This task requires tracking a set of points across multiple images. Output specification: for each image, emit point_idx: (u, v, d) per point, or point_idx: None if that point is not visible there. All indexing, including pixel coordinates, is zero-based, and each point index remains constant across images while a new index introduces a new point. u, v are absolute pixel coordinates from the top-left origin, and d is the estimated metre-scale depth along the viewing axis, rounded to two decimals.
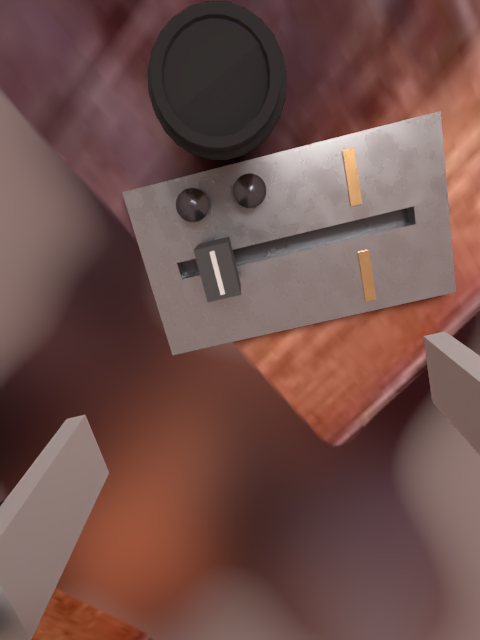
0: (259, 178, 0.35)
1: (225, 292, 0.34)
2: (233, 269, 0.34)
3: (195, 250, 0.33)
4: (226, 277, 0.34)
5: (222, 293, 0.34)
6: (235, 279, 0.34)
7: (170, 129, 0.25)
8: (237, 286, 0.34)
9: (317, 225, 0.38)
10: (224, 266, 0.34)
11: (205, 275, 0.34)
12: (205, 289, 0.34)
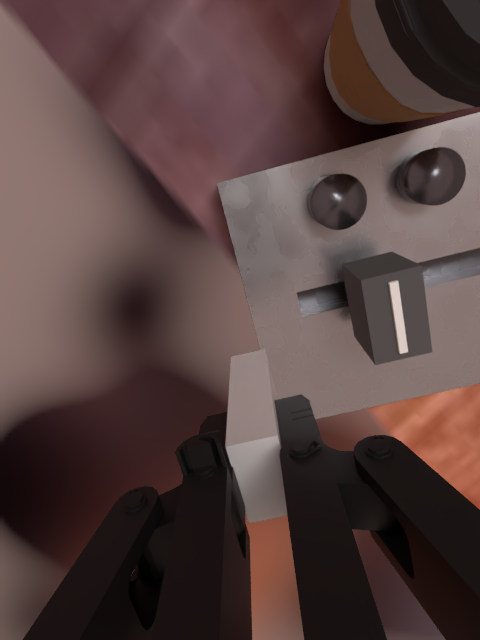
0: (456, 155, 0.21)
1: (406, 349, 0.20)
2: (425, 311, 0.20)
3: (363, 280, 0.19)
4: (412, 323, 0.20)
5: (403, 351, 0.20)
6: (426, 327, 0.20)
7: (427, 32, 0.11)
8: (428, 338, 0.20)
9: None
10: (411, 306, 0.20)
11: (376, 321, 0.20)
12: (374, 344, 0.20)
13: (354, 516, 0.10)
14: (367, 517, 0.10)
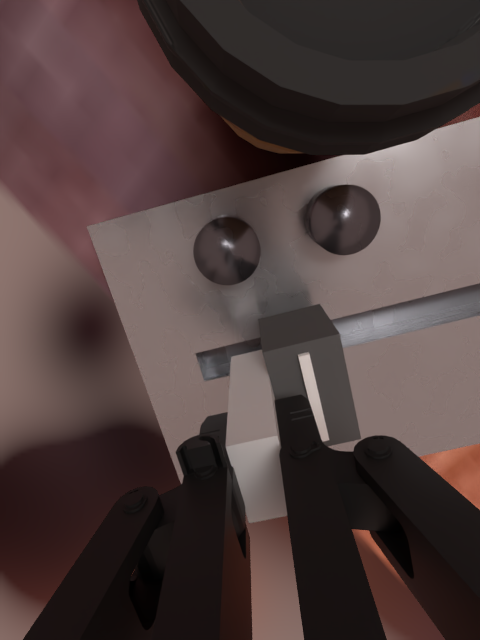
0: (367, 194, 0.17)
1: (328, 436, 0.16)
2: (348, 389, 0.15)
3: (266, 352, 0.15)
4: (333, 405, 0.16)
5: (323, 439, 0.16)
6: (351, 409, 0.16)
7: (193, 48, 0.07)
8: (355, 423, 0.16)
9: (464, 279, 0.20)
10: (330, 384, 0.15)
11: None
12: None
13: (354, 516, 0.10)
14: (366, 516, 0.10)
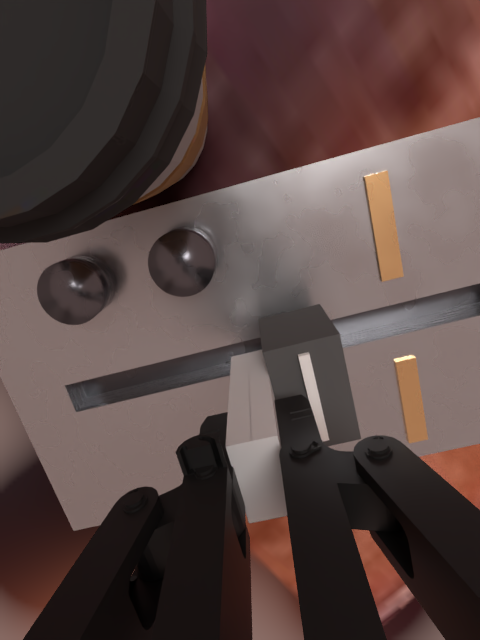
0: (199, 240, 0.17)
1: (328, 435, 0.16)
2: (348, 389, 0.15)
3: (266, 352, 0.15)
4: (333, 405, 0.16)
5: (323, 439, 0.16)
6: (351, 409, 0.16)
7: None
8: (355, 423, 0.16)
9: None
10: (330, 384, 0.15)
11: None
12: None
13: (354, 516, 0.10)
14: (366, 516, 0.10)
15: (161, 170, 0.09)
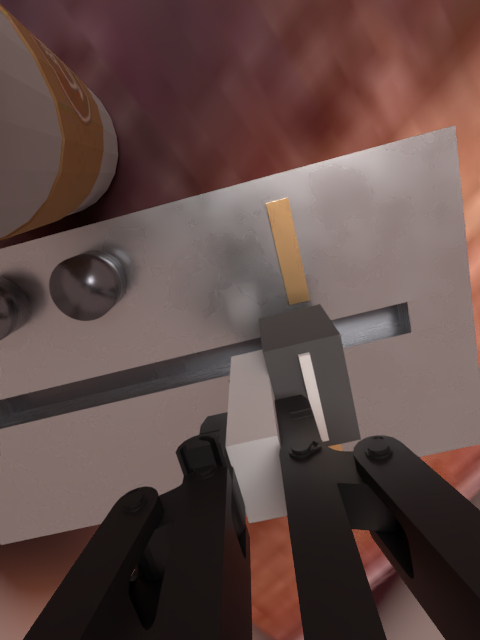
0: (97, 266, 0.18)
1: (327, 436, 0.16)
2: (348, 390, 0.15)
3: (266, 352, 0.15)
4: (333, 405, 0.16)
5: (323, 439, 0.16)
6: (351, 409, 0.16)
7: None
8: (355, 423, 0.16)
9: (229, 337, 0.21)
10: (330, 384, 0.15)
11: None
12: None
13: (354, 516, 0.10)
14: (366, 517, 0.10)
15: None
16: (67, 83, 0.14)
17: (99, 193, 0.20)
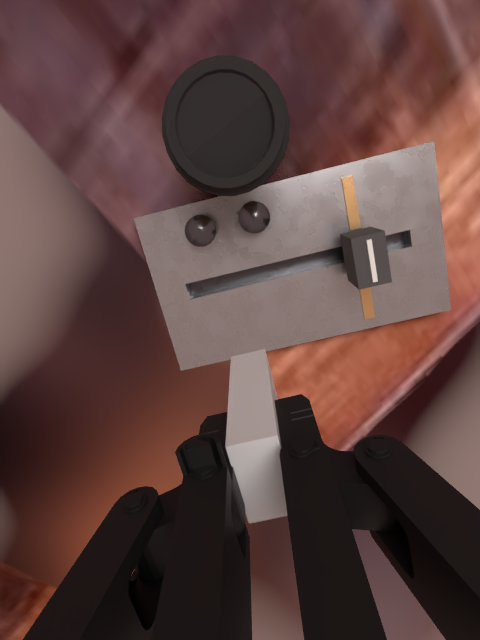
0: (263, 205, 0.37)
1: (377, 280, 0.35)
2: (387, 257, 0.35)
3: (352, 239, 0.34)
4: (380, 264, 0.35)
5: (375, 280, 0.35)
6: (388, 267, 0.35)
7: (182, 170, 0.27)
8: (389, 274, 0.35)
9: (318, 247, 0.40)
10: (379, 254, 0.35)
11: (360, 263, 0.35)
12: (358, 277, 0.35)
13: (354, 516, 0.10)
14: (367, 517, 0.10)
15: (272, 174, 0.28)
16: None
17: None
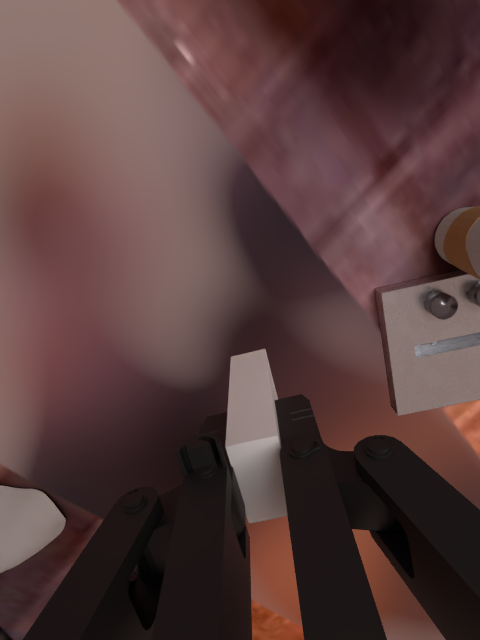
0: None
1: None
2: None
3: None
4: None
5: None
6: None
7: None
8: None
9: None
10: None
11: None
12: None
13: (354, 516, 0.10)
14: (366, 516, 0.10)
15: None
16: None
17: None
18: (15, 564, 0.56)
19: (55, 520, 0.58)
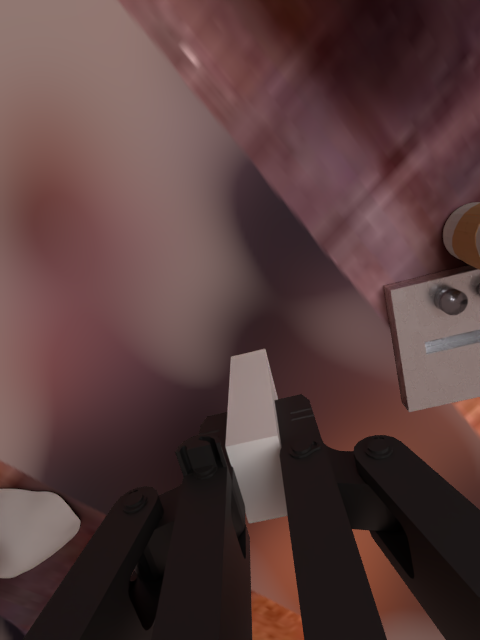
0: None
1: None
2: None
3: None
4: None
5: None
6: None
7: None
8: None
9: None
10: None
11: None
12: None
13: (354, 516, 0.10)
14: (367, 516, 0.10)
15: None
16: None
17: None
18: (32, 566, 0.57)
19: (70, 522, 0.58)
